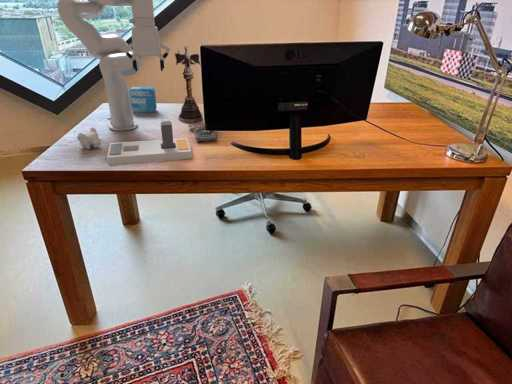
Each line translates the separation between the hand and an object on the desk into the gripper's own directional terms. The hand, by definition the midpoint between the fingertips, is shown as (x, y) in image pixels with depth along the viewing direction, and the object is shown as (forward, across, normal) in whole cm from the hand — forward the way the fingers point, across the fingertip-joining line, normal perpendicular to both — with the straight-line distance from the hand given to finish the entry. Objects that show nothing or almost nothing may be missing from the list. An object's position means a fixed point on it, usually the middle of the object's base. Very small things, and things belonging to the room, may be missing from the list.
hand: (149, 70), depth 141 cm
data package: (+29, -4, +39) cm, 49 cm away
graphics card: (+29, +20, -1) cm, 35 cm away
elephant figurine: (+28, -25, -6) cm, 39 cm away
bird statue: (+28, +17, +25) cm, 42 cm away
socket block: (+28, -3, -17) cm, 33 cm away
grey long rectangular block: (+28, +4, -17) cm, 33 cm away
